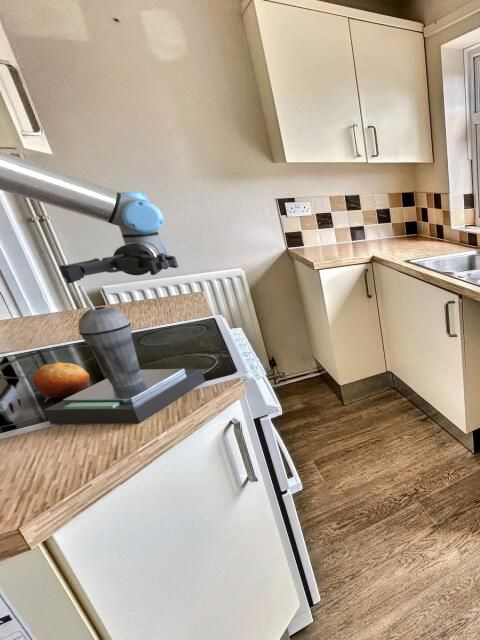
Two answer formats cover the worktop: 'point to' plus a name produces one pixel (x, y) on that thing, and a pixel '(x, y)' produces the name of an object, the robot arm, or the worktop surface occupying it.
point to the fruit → (60, 380)
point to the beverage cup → (111, 343)
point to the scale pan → (126, 388)
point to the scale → (125, 412)
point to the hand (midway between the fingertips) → (110, 272)
